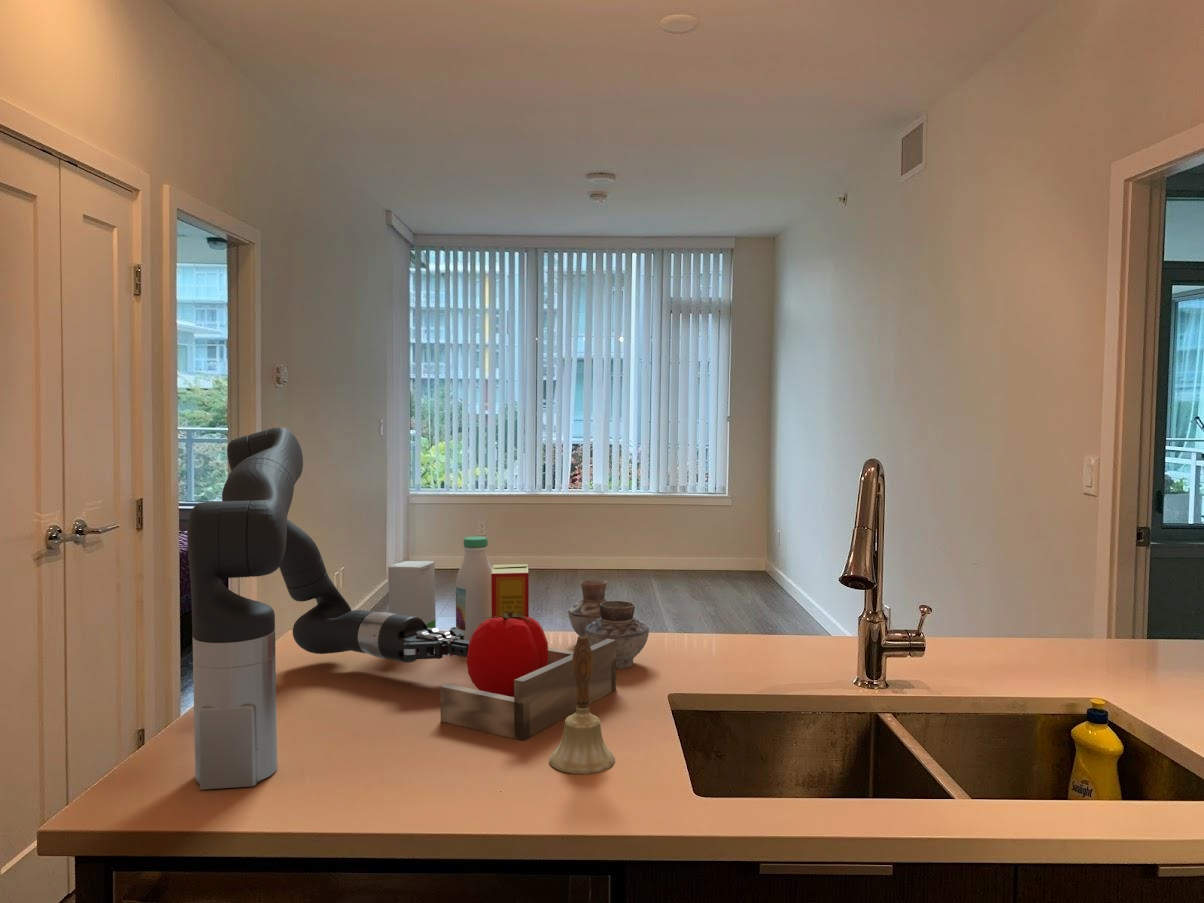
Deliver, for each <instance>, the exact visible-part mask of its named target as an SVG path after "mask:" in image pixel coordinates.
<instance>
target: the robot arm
mask: <svg viewBox="0 0 1204 903" xmlns="http://www.w3.org/2000/svg"><path fill="white" fill-rule="evenodd" d="M226 452H227V454H226V455H227V456H226V457H227V461H228V465H229V468H230V473H229V474H228V477H227V479H226V480H225V483H224V486H223V489H222V492H221V493H222V494H221V501H219V500H218V501H201V502H199V503H196V504H195V505H194V506H193V507H192V509H191V511H190V512H189V516H188V520H187V529H186V530H187V531H186V533H187V534H186V537H187V538H186V539H187V541H186V542H187V555H188V565H189V569H188V570H189V577H190V578H189V580H190V592H191V594H190V595H191V626H192V627H191V628H192V633H191V634H192V677H193V678H192V679H193V680H192V681H193V682H192V683H193V724H194V725H193V728H194V732H193V733H194V766H195V767H194V768H195V769H194V770H195V772H194V773H195V774H194V775H195V782H196V783H197V784H199V790H213V789H214V790H215V789H228V788H245V787H255V786H257V783H259V782H261V781H262V780H266V778H268V777H271V776H272V775H273V774H274V773H275V772H276V771H277V769H278V731H277V719H278V718H277V675H276V674H277V670H276V669H277V667H276V665H277V664H276V663H277V662H276V661H277V660H276V614H275V611H274V608H273V607H271V606H270V605H269V604H267V603H265V602H261V601H259V600H258V601H257V600H254V599H250V598H248V597H245V596H242V595H239V594H237V593H235V592H234V591H232V590H230V589H229V588H227V587H226V586H225V585H224V584H225V583H223V581H222V580H223V579H232V578H233V579H236V578H250V577H253V578H254V577H255V578H256V577H263V576H267V575H270V574H273V573H274V572H276V571H277V570H278V569H279V570H280V573H281V576H282V578H283V581H284V584H285V586H286V589H287V592H288V594H289V596H290V598H291V599H292V600H293V601H296V602H307V601H311V600H316V605H315V606H314V607H312V608H311V609H309V610H308V611H307V612H305V613H304V614H302V615H300V616H299V617H298V619H296V620H295V622H294V624H293V626H292V636H293V640H294V642H295V643H296V645H297V646H299V647H300V648H301V649H303V650H304V651H306V652H308V653H312V654H318V655H319V654H320V655H326V654H335V653H336V654H337V653H343V652H344V653H345V652H350V651H352V652H355V653H360V654H361V653H362V654H366V655H370V656H373V657H376V658H380V659H385V660H390V661H397V662H401V663H406V664H409V663H413V662H415V661H417V660H430V659H431V660H433V659H434V660H436V659H437V660H440V659H442V658H444V657H448V658H449V657H453V656H456V657H462V658H467V653H468V646H469V641H466V640H464V634H463V633H462V632H461V631H460V630H459V629H458V628H456V626H454V627H450V629H449V630H448V631H444V630H440V629H439V628H437V627H436V628H427V626H426V624H425V623H424V621H423V620H422V619H420V618H419V617H415V616H408V615H402V614H395V613H389V611H388V612H385V611H382V612H377V611H371V610H370V611H369V610H365V609H364V610H363V609H353V610H352V609H351V606H350V605H349V603H348V601H347V600H346V599H345V597H343V595H342V594H341V593H340V591H339V589H338V588H337V587H336V585H335V584H334V583H333V581H332V580H331V578H330V577H329V574H328V571H327V569H326V566H325V563H324V559H323V557H322V554H321V552H320V549H319V547H318V545H317V543H316V542H315V541H314V540H313V539H312V537H311V536H310V535H309V534H308V533H306V531H304V530H303V529H301V528H300V527H299V526H298V525H296V524H295V523H293V522H292V521H290V520H289V519H288V516H289V512H290V508H291V505H292V501H293V497H294V491H295V490H294V488H295V485H296V483H297V482H298V480H299V479H300V477H301V476H302V472H303V469H304V468H303V467H304V458H303V457H304V455H303V451H302V448H301V445H300V442H299V440H298V438H297V437H296V435H295V434H294V433H293V432H292V431H291V430H289V429H288V428H285V427H278V426H277V427H272V428H268V429H265V430H261V431H258V432H254V433H251V434H247V435H244V436H241V437H237V438H234V439H232V440H231V441H229V443H228V445H227V449H226Z"/></svg>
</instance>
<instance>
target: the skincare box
mask: <svg viewBox="0 0 1204 903" xmlns="http://www.w3.org/2000/svg"><path fill="white" fill-rule="evenodd" d="M435 566H436V565H435V561H434V560H431V561H430V560H422V561H421V560H415V561H414V560H405V561H401V562H397V563H394V564H392V565H389V566H387V569H388V570H387V572H388V574H387V576H388V613H395V614H402V615H408V616H415V617H419V618H420V619H422V620H423V621H424V623H425V624H426V626H427V628H437V619H436V617H437V614H436V577H435V576H436V572H435Z"/></svg>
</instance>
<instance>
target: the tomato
mask: <svg viewBox="0 0 1204 903" xmlns="http://www.w3.org/2000/svg"><path fill="white" fill-rule="evenodd" d="M502 613H503V614H504V615H505V616H496V617H499V618H495V617H487V618H492V619H488V620H486V621H484V622H482V623H481V624H480V625H479V626H478V627H477V628H476V630H475V631H474V633H473V634H472V636H471V639H470V641H469V646H468V653H467V657H466V666H467V673H468V676H469V678H470V680H471V683H472V684H474V686H475V687H476V689H477V690H480V691H485V692H490V693H495V694H500V695H505V696H510V697H514V680H515V679H517V678H520V677H522V676H524V675H526V674H529V673H531V672H533V671H536V670H538V669H540V668H542V667H545V666H547V665H548V648H549V642H548V639H547V637H546V634H545V631H544V629H543V627H542V625H541V624H540V623H539V622H538V621H537V620H536V619H535V618H532V617H531V616H529V617H525V616H518V615H522V614H523V613H520V614H513V615H512V611H510V612H508V614H506V613H504V612H502ZM523 615H526V614H523ZM527 616H528V615H527Z"/></svg>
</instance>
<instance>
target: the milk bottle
mask: <svg viewBox="0 0 1204 903" xmlns="http://www.w3.org/2000/svg"><path fill="white" fill-rule="evenodd" d="M488 542H489V540H488V537H485V536H466V537H464V538H463V550H464V555H463V559H462V563H461V565H460V567H459V569H458V572H457V575H456V581H455V582H456V583H455V627H456V628H458V629H459V630H460V631H461V632H462V633H463V634H464V640H466V641H470V639H471V636H472V634H473V633H474V631H475V630H476V628H477V627H478V626H479V625H480V624H481V623H482V622H484V621H486V620H488V619H492V618H487V617H492V596H491V573H492V565H491V563H490V560H489V557H488V554H487V553H488V552H487V550H488V548H489V547H488V544H489V543H488Z"/></svg>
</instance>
